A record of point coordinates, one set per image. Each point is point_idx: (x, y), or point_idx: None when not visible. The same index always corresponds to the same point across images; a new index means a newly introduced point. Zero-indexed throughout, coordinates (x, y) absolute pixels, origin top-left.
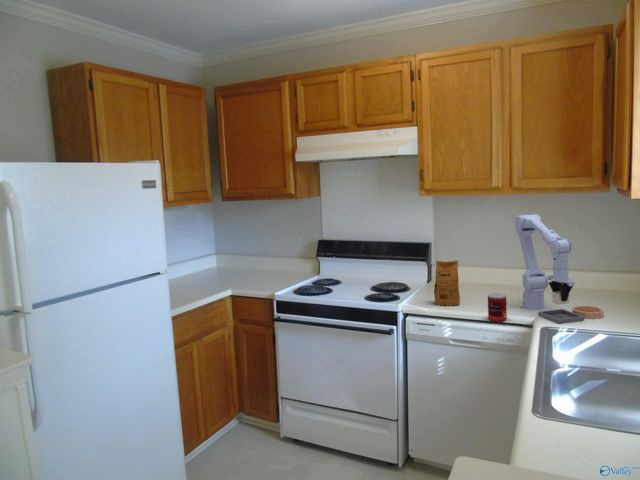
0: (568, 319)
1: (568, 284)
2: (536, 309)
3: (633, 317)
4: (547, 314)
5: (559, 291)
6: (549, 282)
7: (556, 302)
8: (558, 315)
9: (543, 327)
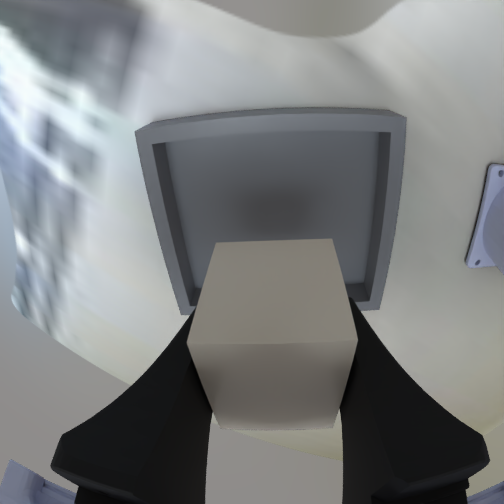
0: (154, 213)
1: (65, 500)
2: (495, 199)
3: (217, 423)
4: (378, 181)
5: (324, 404)
6: (477, 468)
7: (252, 250)
8: (340, 240)
9: (136, 12)
